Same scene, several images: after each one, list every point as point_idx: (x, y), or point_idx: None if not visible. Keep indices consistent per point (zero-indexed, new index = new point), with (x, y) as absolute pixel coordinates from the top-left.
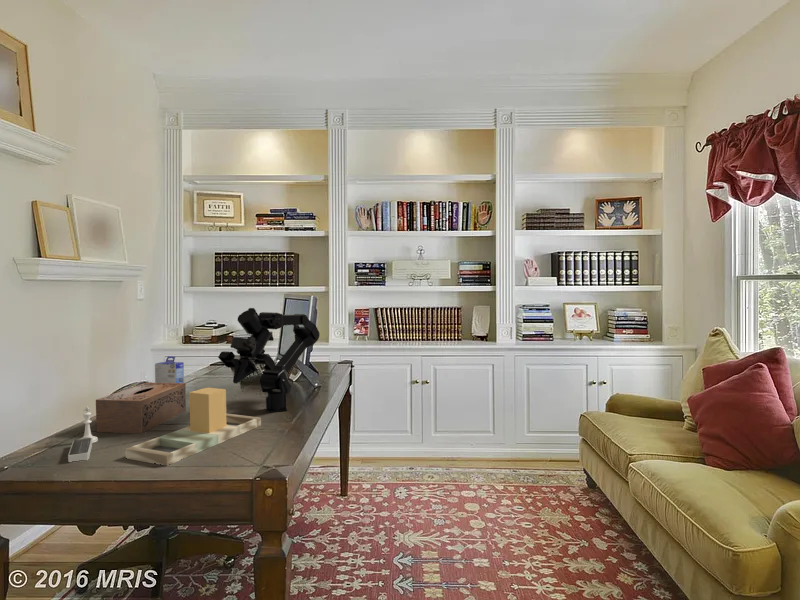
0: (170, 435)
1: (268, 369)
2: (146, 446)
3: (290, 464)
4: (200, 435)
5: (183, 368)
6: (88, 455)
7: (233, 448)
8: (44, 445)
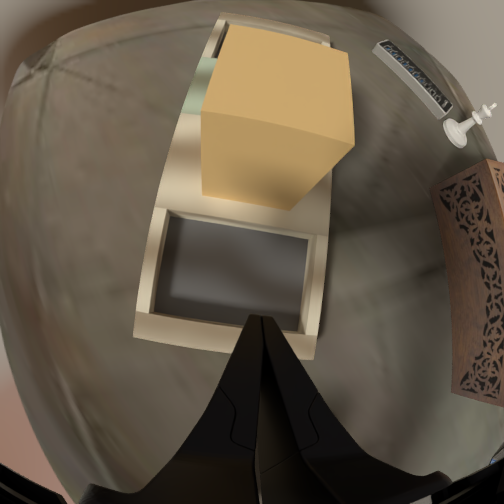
0: None
1: (24, 479)
2: None
3: (10, 90)
4: None
5: None
6: (376, 48)
7: (125, 110)
8: None
